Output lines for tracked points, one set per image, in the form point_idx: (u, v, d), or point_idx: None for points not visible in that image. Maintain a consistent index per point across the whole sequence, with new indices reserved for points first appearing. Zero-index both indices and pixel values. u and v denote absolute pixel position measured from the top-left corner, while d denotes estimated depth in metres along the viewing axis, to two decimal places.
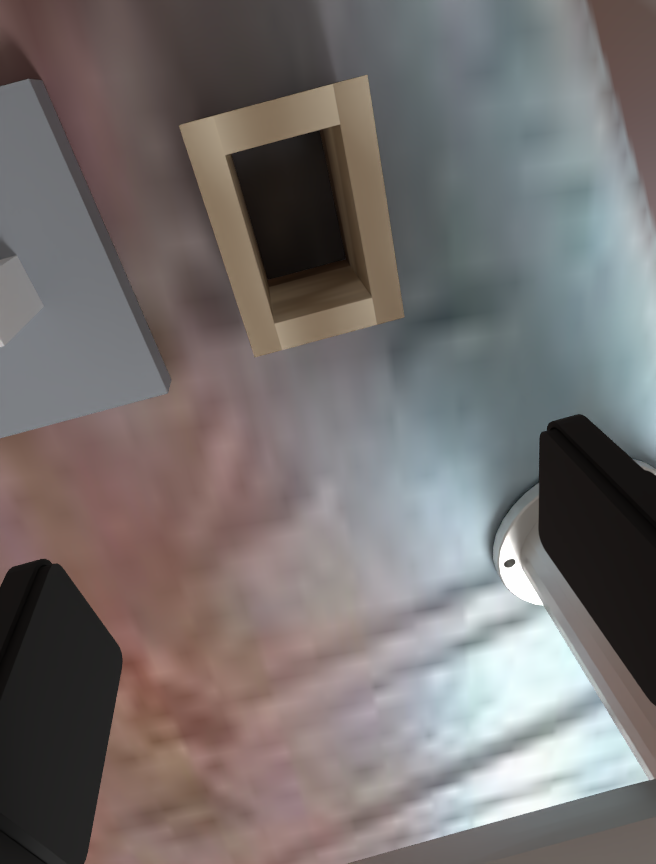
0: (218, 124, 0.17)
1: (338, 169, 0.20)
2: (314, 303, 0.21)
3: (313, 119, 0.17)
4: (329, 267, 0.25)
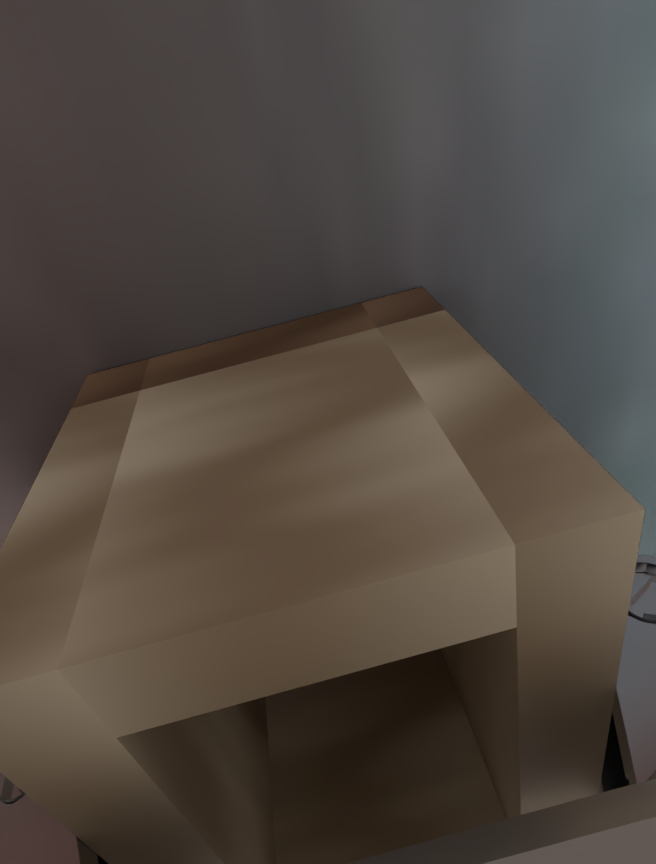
0: (81, 684, 0.04)
1: None
2: (371, 819, 0.09)
3: (430, 629, 0.05)
4: None
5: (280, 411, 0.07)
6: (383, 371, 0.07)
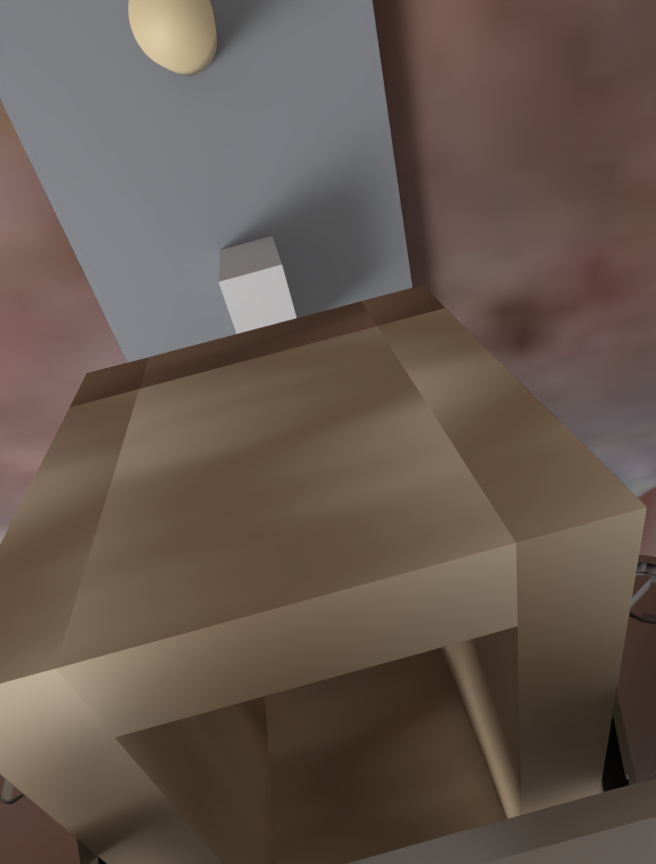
0: (79, 683, 0.04)
1: None
2: (371, 819, 0.09)
3: (430, 628, 0.05)
4: None
5: (280, 409, 0.07)
6: (383, 369, 0.07)
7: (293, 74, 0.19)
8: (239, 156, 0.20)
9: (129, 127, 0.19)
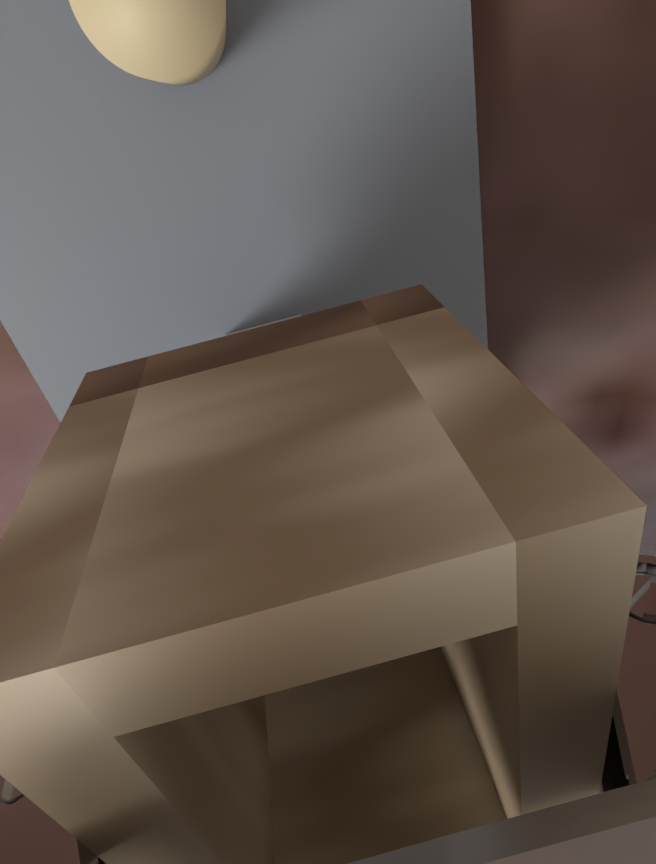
0: (78, 682, 0.04)
1: None
2: (371, 820, 0.09)
3: (430, 626, 0.05)
4: None
5: (279, 408, 0.07)
6: (382, 368, 0.07)
7: (342, 85, 0.12)
8: (256, 205, 0.13)
9: (89, 163, 0.12)
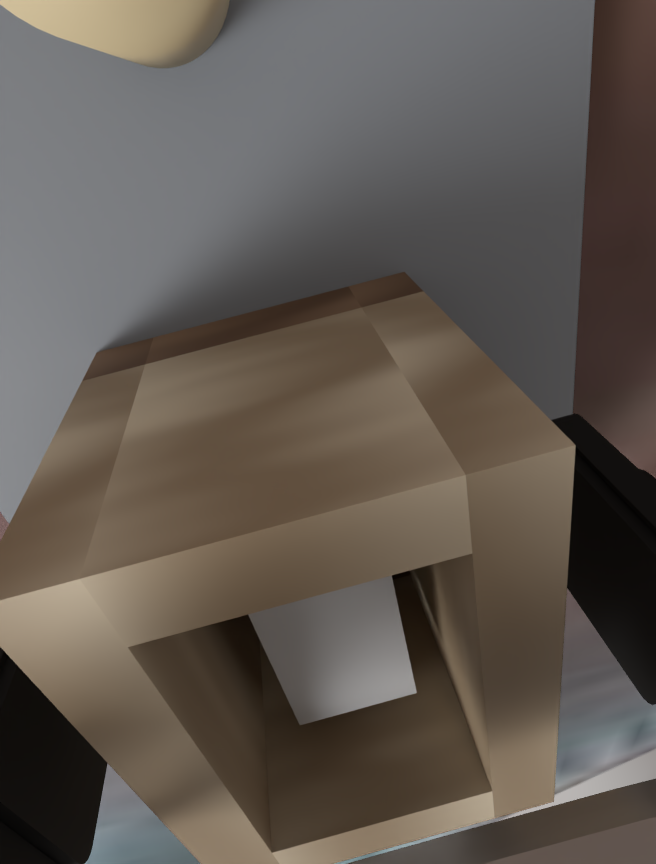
0: (99, 593, 0.05)
1: None
2: (357, 760, 0.10)
3: (396, 551, 0.06)
4: None
5: (271, 378, 0.08)
6: (364, 343, 0.08)
7: (401, 69, 0.08)
8: (273, 241, 0.09)
9: (30, 183, 0.08)
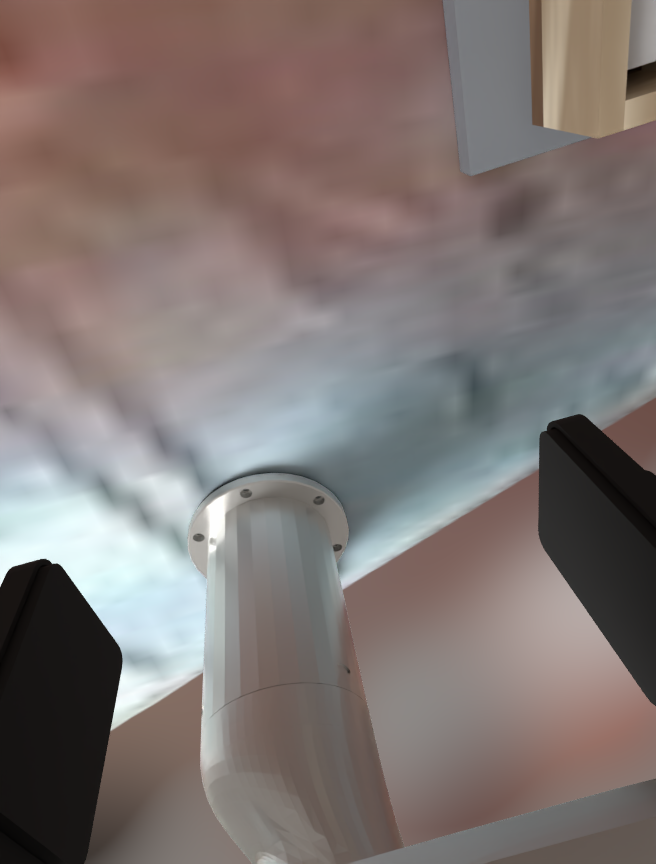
0: None
1: None
2: (648, 87, 0.23)
3: None
4: None
5: None
6: None
7: None
8: None
9: None
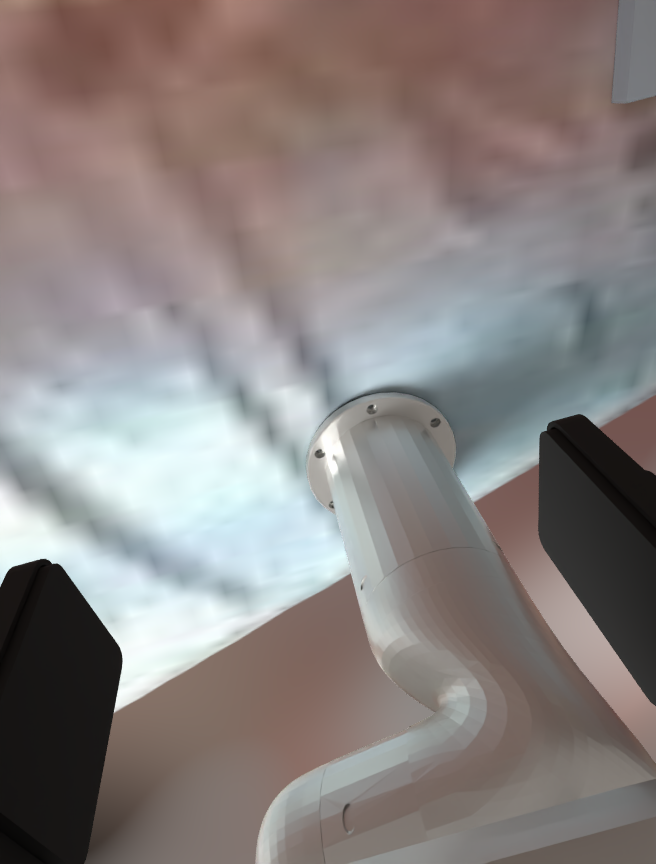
0: None
1: None
2: None
3: None
4: None
5: None
6: None
7: None
8: None
9: None
